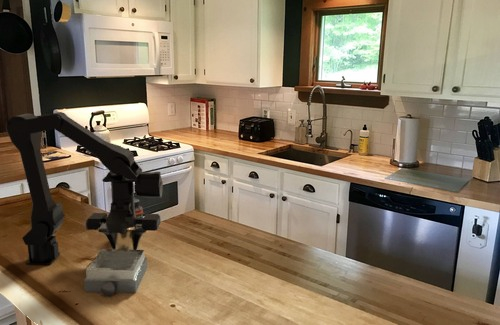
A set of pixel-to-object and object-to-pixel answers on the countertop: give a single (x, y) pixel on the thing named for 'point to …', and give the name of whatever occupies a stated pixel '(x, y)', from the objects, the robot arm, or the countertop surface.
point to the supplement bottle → (138, 210)
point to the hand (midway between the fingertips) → (125, 250)
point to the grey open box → (115, 271)
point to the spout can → (125, 239)
